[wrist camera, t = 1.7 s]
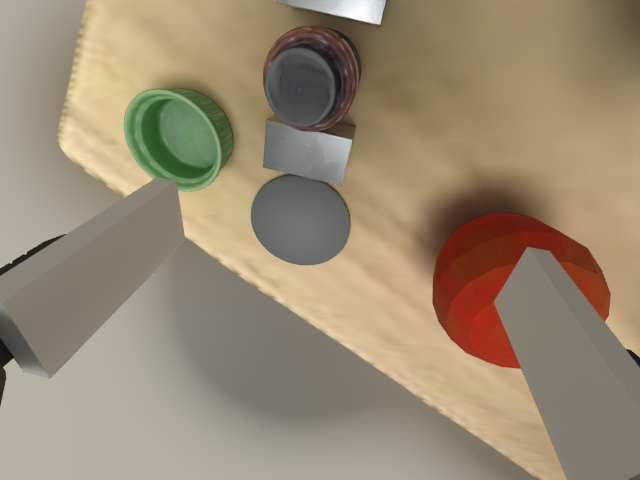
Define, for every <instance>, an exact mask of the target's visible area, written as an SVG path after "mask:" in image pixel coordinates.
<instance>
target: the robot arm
mask: <svg viewBox="0 0 640 480" xmlns="http://www.w3.org/2000/svg"><path fill="white" fill-rule="evenodd" d="M184 240H185V235H184V229H183V222H182V215H181V209H180V202H179V196H178V189H177V182H176V181H175V180H170V179H164V178H159V177H157V178H155V179H154V180H152V181H151V182H149V183H147V184H146V185H144V186H143V187H141V188H139V189H138V190H136V191H135V192H133V193H132V194H130V195H128V196H127V197H125V198H124V199H122V200H120V201H119V202H117V203H116V204H114V205H112V206H111V207H109V208H108V209H106V210H104V211H103V212H101V213H100V214H98V215H97V216H95V217H93V218H92V219H90V220H89V221H87V222H85V223H84V224H82V225H81V226H79V227H77V228H76V229H75V230H73V231H71V232H69V233H68V234H64V235H61V236H58V237H56V238H53V239H50V240H48V241H45V242H43V243H41V244H40V245H38V246H37V247H35V248H33V249H32V250H30V251H28V252H27V254H26V255H24V254H23V255H22V256H20V257H18V258H17V259H15V260H13V262H12V264H10V263H9V264H7V265H5V266H4V267H2V268H0V405H1V400H2V395H3V391H4V386H5V381H6V372H5V370H4V369H3V367H4V366H5V365H6V364H7V363H8V362H9V361H10V360H12V359H13V358H14V359H15V361H16V362H17V363H18V365H19V366H20V368H21V369H22V370H23V372H26V373H30V374H35V375H39V376H43V377H47V378H51V377H52V376H53V375H54V374H55V373H56V372H57V371H58V370H59V369H60V368H61V367H62V366H63V365H64V364H65V363H66V362H67V361H68V360H69V359H70V358H71V357H72V356H73V355H74V354H75V353H76V352H77V351H78V349H79V348H80V347H81V346H82V345H83V344H84V343H85V342H86V341H87V340H88V339H89V338H90V337H91V336H92V335H93V334H94V333H95V332H96V331H97V329H99V328H100V327H101V326H102V325H103V324H104V323H105V321H107V320H108V319H109V318H110V317H111V315H112V314H113V313H114V312H115V311H116V310H117V309H118V308H119V307H120V306H121V305H122V304H123V303H124V302H125V301H126V300H127V299H128V298H129V297H130V296H131V295H132V294H133V293H134V292H135V291H136V289H138V288H139V287H140V286H141V285H142V283H143V282H144V281H145V280H146V279H147V278H148V277H149V276H150V275H151V274H152V273H153V272H154V271H155V270H156V269H157V268H158V267H159V266H160V265H161V264H162V263H163V262H164V261H165V260H166V259H167V258H168V257H169V256H170V255H171V254H172V253H173V252H174V250H175V249H176V248H177V247H178V246H179V245H180V244H181V243H182V242H183V241H184ZM494 304H495V306H496V309H497V311H498V314H499V316H500V318H501V321H502V323H503V326H504V328H505V330H506V333H507V335H508V338H509V340H510V343H511V345H512V347H513V350H514V352H515V355H516V357H517V360H518V362H519V364H520V367H521V369H522V372H523V374H524V376H525V379H526V381H527V384H528V386H529V389H530V391H531V393H532V396H533V398H534V401H535V403H536V405H537V408H538V410H539V413H540V415H541V418H542V420H543V422H544V425H545V427H546V430H547V432H548V434H549V437H550V439H551V442H552V444H553V447H554V449H555V451H556V454H557V456H558V459H559V461H560V464H561V466H562V468H563V471H564V473H565V476H566V478H567V480H640V358H639V357H638V356H637V355H636V354H635V353H634V352H632V351H631V350H628V349H625V348H624V347H623V345H622V344H621V343H620V341H619V340H618V339H617V338H616V336H615V335H614V334H613V332H612V331H611V330H610V328H609V327H608V326H607V325H606V323H605V322H604V321H603V319H602V318H601V317H600V315H599V314H598V313H597V312H596V310H595V309H594V308H593V306H592V305H591V304H590V303H589V301H588V300H587V299H586V297H585V296H584V295H583V293H582V292H581V291H580V290H579V288H578V287H577V286H576V284H575V283H574V282H573V280H572V279H571V278H570V277H569V275H568V274H567V273H566V271H565V270H564V269H563V267H562V266H561V265H560V264H559V262H558V261H557V260H556V258H555V257H554V256H553V255H552V253H551V252H550V251H547V250H541V249H536V248H531V247H527V248H526V250H525V252H524V253H523V255H522V257H521V258H520V260H519V261H518V263H517V265H516V266H515V268H514V270H513V271H512V273H511V275H510V276H509V278H508V280H507V281H506V283H505V284H504V286H503V288H502V289H501V291H500V293H499V294H498V296H497V298H496V299H495V301H494Z"/></svg>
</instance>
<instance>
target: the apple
mask: <svg viewBox="0 0 640 480" xmlns="http://www.w3.org/2000/svg"><path fill="white" fill-rule="evenodd" d="M527 247H531V248H536V249H541V250H547V251H550V252H551V253H552V255H553V256H554V257H555V258H556V260H557V261H558V262H559V264H560V265H561V266H562V267H563V269H564V270H565V271H566V273H567V274H568V275H569V277H570V278H571V279H572V280H573V282H574V283H575V284H576V286H577V287H578V288H579V290H580V291H581V292H582V293H583V295H584V296H585V297H586V299H587V300H588V301H589V303H590V304H591V305H592V306H593V308H594V309H595V310H596V312H597V313H598V314H599V315H600V317H601V318H602V319H603V321H604V322H605V321H606V319H607V317H608V316H609V306H610V296H611V294H610V291H609V288H608V286H607V283H606V280H605V278H604V275H603V272H602V270H601V268H600V267H599V265H598V264H597V262H596V261H595V259H594V257H593V256H592V254H591V253H590V251H589V250H588V248H586V247H585V246H583V245H581V244H580V243H578V242H576V241H575V240H573V239H571V238H569V237H568V236H566V235H564V234H563V233H561V232H559V231H557V230H556V229H554V228H552V227H550V226H548V225H546V224H544V223H542V222H540V221H538V220H536V219H534V218H531V217H527V216H522V215H517V214H513V213H488V214H486V215H483V216H480V217H477V218H474V219H472V220H470V221H468V222H467V223H465V224H463V225H462V226H460V227H458V228H457V229H456V230H455V231H454V232H453V233H452V235H451V236H450V237H449V238H448V239H447V241H446V242H445V244H444V246H443V248H442V250H441V252H440V254H439V256H438V258H437V260H436V265H435V271H434V276H433V306H434V309H435V312H436V315H437V318H438V321H439V323H440V324H441V326H442V327H443V328H444V330H445V331H446V333H447V334H448V336H449V337H450V338H451V340H452V341H453V342H455V343H456V344H457V345H458V346H459V347H460V348H461V349H463V350H464V351H465V352H466V353H468V354H470V355H472V356H475V357H477V358H479V359H482V360H484V361H486V362H489V363H492V364H495V365H498V366H501V367H508V368H520V369H521V367H520V364H519V362H518V360H517V357H516V355H515V352H514V350H513V347H512V345H511V343H510V340H509V338H508V335H507V333H506V330H505V328H504V326H503V323H502V321H501V318H500V316H499V314H498V311H497V309H496V306H495V304H494V301H495V299H496V298H497V296H498V294H499V293H500V291H501V289H502V288H503V286H504V284H505V283H506V281H507V280H508V278H509V276H510V275H511V273H512V271H513V270H514V268H515V266H516V265H517V263H518V261H519V260H520V258H521V257H522V255H523V253H524V252H525V250H526V248H527Z"/></svg>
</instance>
